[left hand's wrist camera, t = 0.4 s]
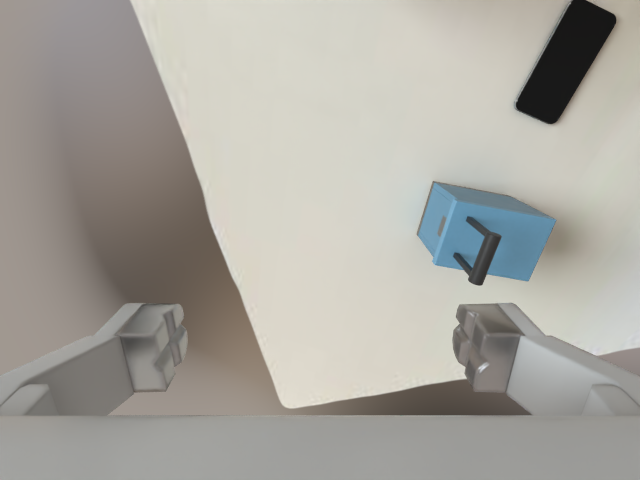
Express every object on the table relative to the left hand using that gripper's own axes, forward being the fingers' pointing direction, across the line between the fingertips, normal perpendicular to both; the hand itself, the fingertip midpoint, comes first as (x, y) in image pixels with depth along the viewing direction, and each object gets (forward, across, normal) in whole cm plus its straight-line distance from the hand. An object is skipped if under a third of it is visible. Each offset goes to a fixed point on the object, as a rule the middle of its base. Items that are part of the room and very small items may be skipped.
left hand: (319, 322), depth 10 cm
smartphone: (+47, -34, -11) cm, 59 cm away
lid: (+36, -23, +12) cm, 44 cm away
